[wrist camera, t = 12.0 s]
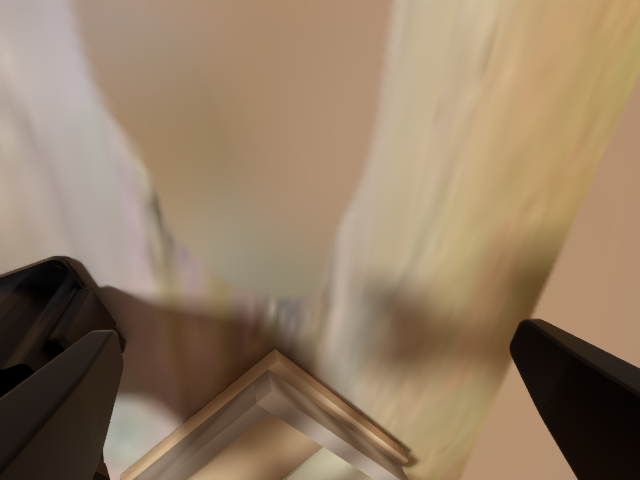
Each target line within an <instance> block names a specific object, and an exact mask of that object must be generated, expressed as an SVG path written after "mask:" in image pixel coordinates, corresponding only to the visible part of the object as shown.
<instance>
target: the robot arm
mask: <svg viewBox="0 0 640 480" xmlns="http://www.w3.org/2000/svg"><path fill="white" fill-rule="evenodd" d="M52 264H56V265H59V266H60V267H61V269H55V268H54V267H53V266H52ZM115 326H116V322H115V321H114V319H113V318H112V316H111V315H110V314H109V312H108V311H107V309H106V308H105V307H104V305H103V304H102V302H101V301H100V300H99V298H98V297H97V295H96V294H95V293H94V291H93V290H92V289H90V288H88V287H86V285H85V284H84V283H83V281H82V280H81V278H80V277H79V276H78V274H77V273H76V271H75V270H74V269H73V267H72V266H71V265H70V263H69V262H68V261H67V260H66V259H65V258H63V257H61V256H53V257H50V258H47V259H44V260H41V261H38V262H36V263H33V264H30V265H27V266H24V267H21V268H19V269H16V270H13V271H10V272H7V273H5V274H2V275H0V480H110V477H109V474H108V470H107V467H106V464H105V463H104V458H103V447H104V443H105V439H106V435H107V431H108V427H109V423H110V419H111V415H112V411H113V407H114V403H115V399H116V395H117V391H118V387H119V383H120V379H121V375H122V370H123V359H122V354H121V353H123V352H124V350H125V347H126V341H125V339H124V338H123V337H122V335H121V334H120V332H119V331H118V330H117V328H116V327H115ZM510 354H511V356H512V358H513V360H514V363H515V365H516V367H517V369H518V371H519V373H520V375H521V377H522V379H523V381H524V383H525V385H526V388H527V389H528V392H529V394H530V396H531V398H532V400H533V402H534V404H535V406H536V408H537V410H538V412H539V414H540V416H541V418H542V420H543V421H544V423H545V425H546V426H547V428H548V430H549V432H550V433H551V435H552V437H553V438H554V440H555V441H556V443H557V445H558V447H559V449H560V450H561V452H562V454H563V455H564V457H565V459H566V460H567V462H568V464H569V465H570V467H571V469H572V470H573V472H574V474H575V475H576V477H577V479H578V480H640V368H638V367H636V366H633V365H632V364H630V363H628V362H626V361H624V360H622V359H619V358H617V357H616V356H614V355H612V354H610V353H608V352H606V351H604V350H602V349H600V348H597V347H596V346H594V345H592V344H590V343H588V342H586V341H584V340H582V339H580V338H578V337H576V336H574V335H572V334H570V333H568V332H566V331H564V330H562V329H560V328H558V327H556V326H554V325H552V324H550V323H548V322H546V321H544V320H541V319H524V320H522V321H521V322H520V323H519V325H518V327H517V329H516V332H515V334H514V336H513V338H512V341H511V343H510Z"/></svg>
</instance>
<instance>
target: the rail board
mask: <svg viewBox="0 0 640 480" xmlns="http://www.w3.org/2000/svg"><path fill="white" fill-rule="evenodd" d="M408 461H409V460H408V458H407V456H406V454H405V452H404V450H403V448H402V447H401V446H400V445H398V444H397V443H396V442H394V441H393V440H392V439H391V438H389V437H388V436H387V435H385V434H384V433H383V432H382V431H380V430H379V429H378V428H376V427H375V426H374V425H373V424H371V423H370V422H369V421H367V420H366V419H365V418H364V417H362V416H361V415H360V414H358V413H357V412H356V411H355V410H353V409H352V408H351V407H349V406H348V405H347V404H346V403H344V402H343V401H342V400H340V399H339V398H338V397H337V396H335V395H334V394H333V393H331V392H330V391H329V390H328V389H326V388H325V387H324V386H322V385H321V384H320V383H319V382H317V381H316V380H315V379H313V378H312V377H311V376H310V375H308V374H307V373H306V372H304V371H303V370H302V369H301V368H299V367H298V366H297V365H295V364H294V363H293V362H292V361H290V360H289V359H288V358H286V357H285V356H284V355H283V354H281V353H280V352H279V351H277V350H276V349H273V350H272V351H271V352H270V353H269V354H267V355H266V356H265V357H264V358H263V359H261V360H260V361H259V362H258V363H256V364H255V365H254V366H253V367H252V368H250V369H249V370H248V371H247V372H245V373H244V374H243V375H242V376H241V377H239V378H238V379H237V380H236V381H235V382H233V383H232V384H231V385H230V386H228V387H227V388H226V389H225V390H224V391H222V392H221V393H220V394H219V395H218V396H216V397H215V398H214V399H213V400H211V401H210V402H209V403H208V404H207V405H205V406H204V407H203V408H202V409H200V410H199V411H198V412H197V413H196V414H194V415H193V416H192V417H191V418H190V419H188V420H187V421H186V422H185V423H183V424H182V425H181V426H180V427H179V428H177V429H176V430H175V431H174V432H173V433H171V434H170V435H169V436H168V437H166V438H165V439H164V440H163V441H162V442H160V443H159V444H158V445H157V446H155V447H154V448H153V449H152V450H151V451H149V452H148V453H147V454H146V455H145V456H143V457H142V458H141V459H140V460H138V461H137V462H136V463H135V464H134V465H132V466H131V467H130V468H129V469H128V470H126V471H125V472H124V473H123V474H121V476H120V480H408V479H407V477H406V475H405V473H404V471H403V468H402V465H404V464H405V463H406V462H408Z"/></svg>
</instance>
